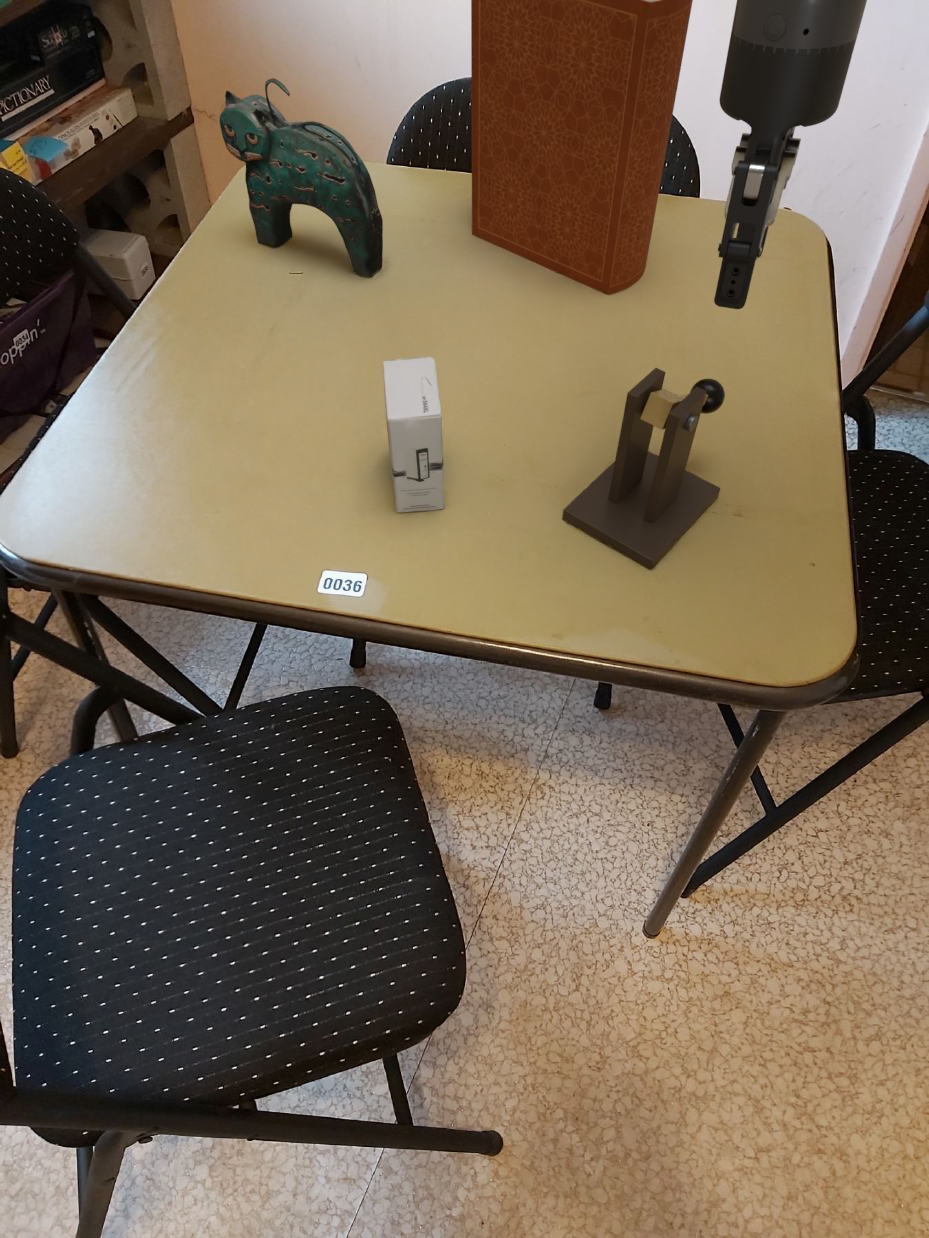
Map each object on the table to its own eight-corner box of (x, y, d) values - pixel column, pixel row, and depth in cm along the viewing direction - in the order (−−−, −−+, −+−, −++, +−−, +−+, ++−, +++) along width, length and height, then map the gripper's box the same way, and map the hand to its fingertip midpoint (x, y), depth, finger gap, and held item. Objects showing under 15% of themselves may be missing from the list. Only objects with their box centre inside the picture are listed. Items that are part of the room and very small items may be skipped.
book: (471, 234, 111) (471, -46, 86) (510, 209, 114) (520, -66, 90) (615, 298, 102) (659, 5, 77) (652, 269, 105) (705, -19, 81)
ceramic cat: (242, 244, 110) (202, 73, 94) (272, 221, 113) (239, 53, 97) (367, 286, 104) (348, 111, 87) (396, 261, 107) (382, 88, 91)
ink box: (390, 454, 85) (379, 356, 76) (438, 450, 86) (434, 352, 76) (395, 515, 80) (384, 418, 71) (446, 510, 81) (443, 414, 71)
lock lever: (691, 403, 81) (705, 371, 79) (720, 417, 80) (735, 385, 78) (633, 420, 71) (647, 385, 70) (665, 437, 70) (680, 401, 68)
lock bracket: (631, 452, 85) (654, 335, 74) (717, 497, 81) (756, 380, 70) (561, 519, 80) (576, 403, 69) (650, 570, 76) (681, 456, 65)
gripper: (849, 64, 46) (776, 333, 58) (866, 1, 55) (800, 246, 67) (713, 54, 48) (669, 316, 60) (750, -6, 57) (706, 234, 69)
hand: (738, 279), depth 64 cm, fingers open, 8 cm apart
